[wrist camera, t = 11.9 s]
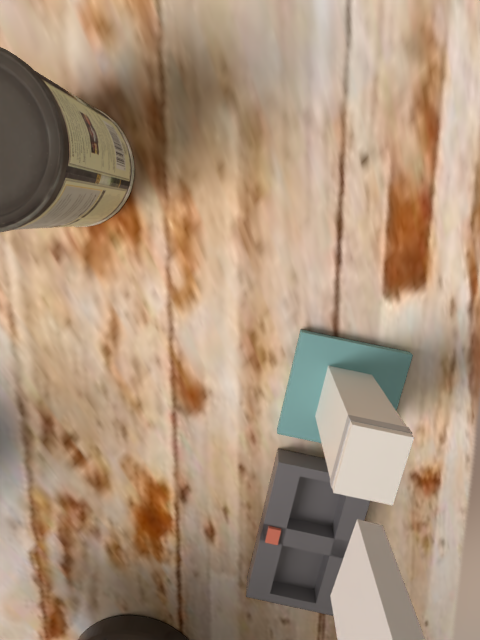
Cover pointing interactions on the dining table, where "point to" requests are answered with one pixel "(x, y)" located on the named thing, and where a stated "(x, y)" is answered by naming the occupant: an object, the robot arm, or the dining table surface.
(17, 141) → the coffee can
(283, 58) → the dining table surface
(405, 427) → the block
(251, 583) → the power strip
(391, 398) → the pad
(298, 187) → the dining table surface
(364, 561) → the robot arm
